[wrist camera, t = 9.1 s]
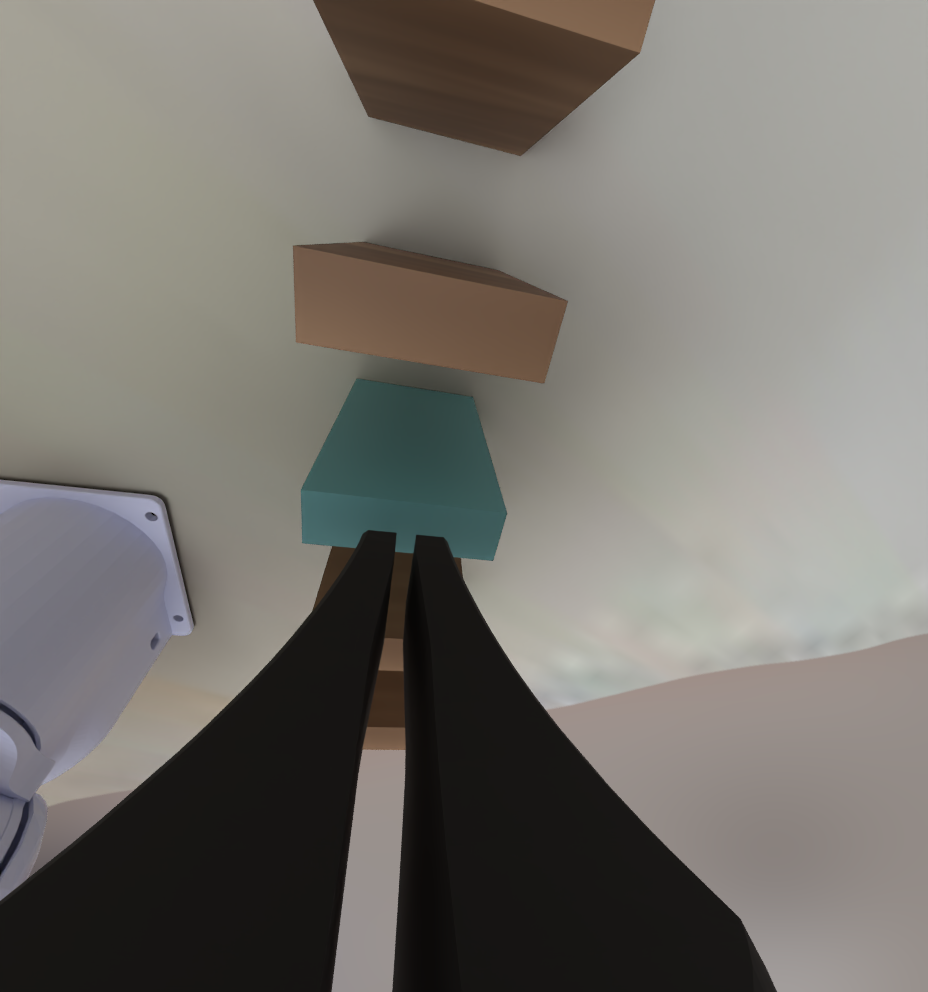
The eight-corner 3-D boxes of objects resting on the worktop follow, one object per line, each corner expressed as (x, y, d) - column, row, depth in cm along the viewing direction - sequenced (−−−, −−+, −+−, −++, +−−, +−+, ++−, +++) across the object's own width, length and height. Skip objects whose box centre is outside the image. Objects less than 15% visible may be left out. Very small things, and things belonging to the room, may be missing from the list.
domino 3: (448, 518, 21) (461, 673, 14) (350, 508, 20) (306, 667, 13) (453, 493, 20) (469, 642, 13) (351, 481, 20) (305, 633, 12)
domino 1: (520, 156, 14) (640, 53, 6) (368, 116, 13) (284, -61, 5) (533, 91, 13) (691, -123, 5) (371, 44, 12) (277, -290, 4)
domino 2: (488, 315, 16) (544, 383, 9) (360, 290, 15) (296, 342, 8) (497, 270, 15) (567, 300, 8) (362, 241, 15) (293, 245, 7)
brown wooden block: (434, 587, 24) (438, 750, 16) (347, 581, 23) (308, 748, 15) (438, 567, 23) (444, 728, 15) (348, 559, 22) (307, 725, 15)
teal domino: (465, 430, 19) (493, 560, 11) (354, 414, 18) (302, 543, 10) (472, 397, 18) (506, 512, 10) (356, 378, 17) (300, 490, 9)
